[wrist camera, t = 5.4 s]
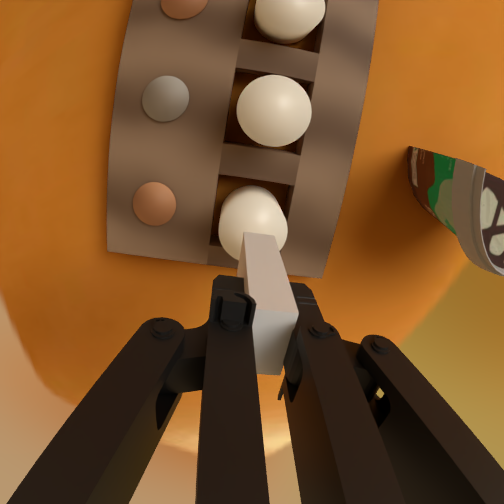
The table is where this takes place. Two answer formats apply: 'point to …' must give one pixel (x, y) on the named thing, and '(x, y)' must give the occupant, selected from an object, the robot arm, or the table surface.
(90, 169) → the table surface
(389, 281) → the table surface
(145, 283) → the table surface
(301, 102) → the button mid
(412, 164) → the food container
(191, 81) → the board
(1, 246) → the table surface
